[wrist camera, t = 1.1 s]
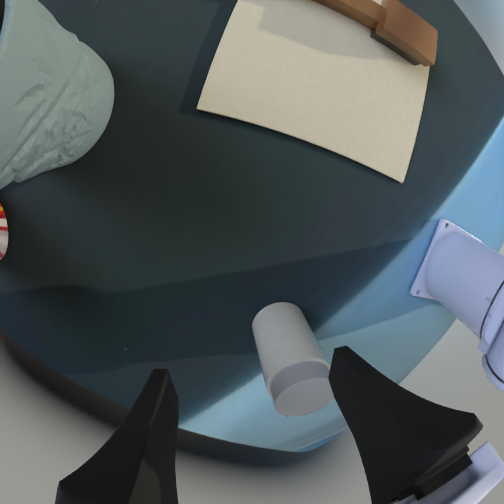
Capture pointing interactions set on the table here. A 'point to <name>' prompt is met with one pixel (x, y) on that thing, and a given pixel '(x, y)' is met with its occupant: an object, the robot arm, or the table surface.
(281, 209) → the table surface
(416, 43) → the brush
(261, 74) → the cream square board
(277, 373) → the salt shaker
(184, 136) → the table surface
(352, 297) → the table surface
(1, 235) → the soda can
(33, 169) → the embossed grey planter pot
